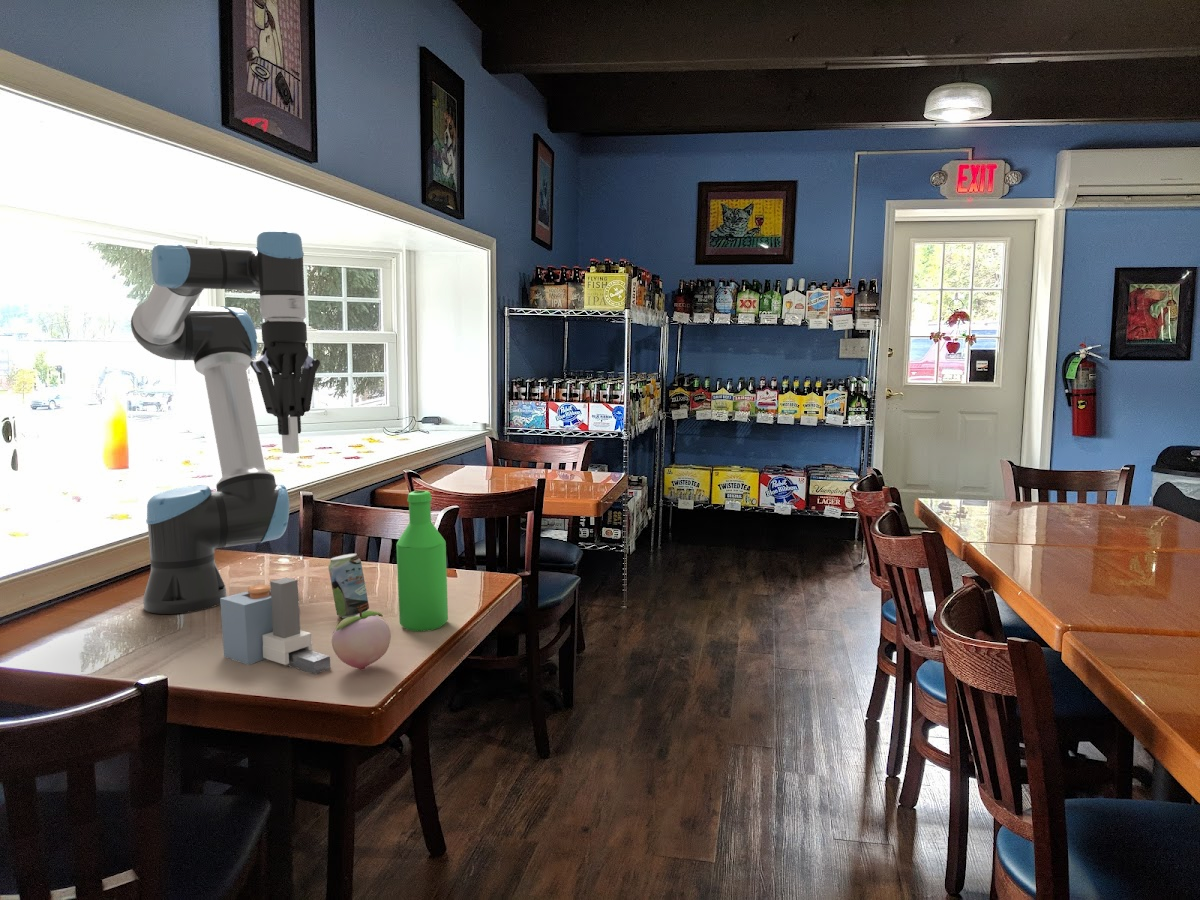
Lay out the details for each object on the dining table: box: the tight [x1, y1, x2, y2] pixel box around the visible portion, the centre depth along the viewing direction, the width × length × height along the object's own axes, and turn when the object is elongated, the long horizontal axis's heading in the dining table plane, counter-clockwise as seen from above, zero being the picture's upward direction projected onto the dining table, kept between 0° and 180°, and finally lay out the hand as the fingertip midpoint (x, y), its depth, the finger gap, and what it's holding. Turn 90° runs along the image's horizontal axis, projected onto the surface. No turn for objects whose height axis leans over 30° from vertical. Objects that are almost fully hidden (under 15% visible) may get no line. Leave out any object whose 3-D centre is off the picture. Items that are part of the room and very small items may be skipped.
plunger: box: [247, 584, 271, 599], centre depth 144 cm, size 4×4×5 cm
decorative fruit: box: [331, 608, 392, 670], centre depth 136 cm, size 9×8×10 cm
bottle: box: [396, 490, 449, 632], centre depth 156 cm, size 9×9×25 cm
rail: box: [286, 648, 331, 675], centre depth 139 cm, size 12×3×2 cm, turn 55°
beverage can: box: [328, 553, 370, 619], centre depth 163 cm, size 6×7×12 cm
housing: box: [219, 590, 301, 666], centre depth 144 cm, size 7×10×10 cm
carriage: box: [262, 576, 314, 666], centre depth 140 cm, size 6×5×13 cm
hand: (290, 452), depth 154 cm, fingers closed
